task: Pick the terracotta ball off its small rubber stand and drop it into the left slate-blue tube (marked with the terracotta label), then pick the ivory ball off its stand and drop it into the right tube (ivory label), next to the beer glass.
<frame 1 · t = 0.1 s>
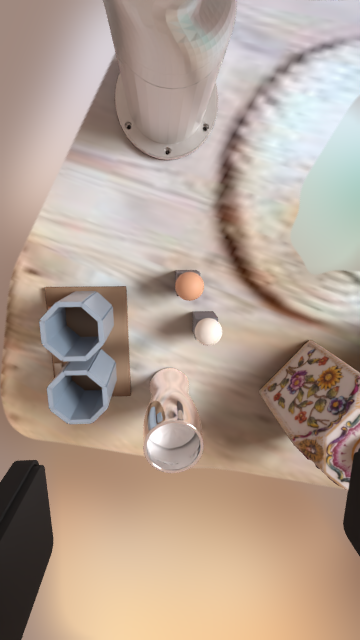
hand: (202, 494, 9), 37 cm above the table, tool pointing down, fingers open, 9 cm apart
stand A: (186, 280, 44), on the table
rack board: (90, 342, 46), on the table
tubes: (83, 354, 41), on the rack board, point 1 cm above the table
decorative jar: (306, 385, 50), on the table
stand B: (202, 321, 46), on the table
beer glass: (169, 385, 48), on the table
terracotta ball: (188, 284, 41), point 4 cm above the table, touching stand A
ivory ball: (206, 328, 42), point 4 cm above the table, touching stand B
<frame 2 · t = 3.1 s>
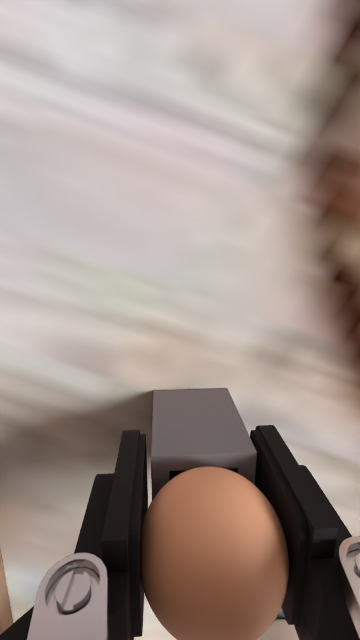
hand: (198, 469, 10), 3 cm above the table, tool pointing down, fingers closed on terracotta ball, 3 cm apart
stand A: (190, 422, 13), on the table
terracotta ball: (202, 490, 9), point 4 cm above the table, touching gripper, stand A
ivory ball: (269, 629, 11), point 4 cm above the table, touching stand B
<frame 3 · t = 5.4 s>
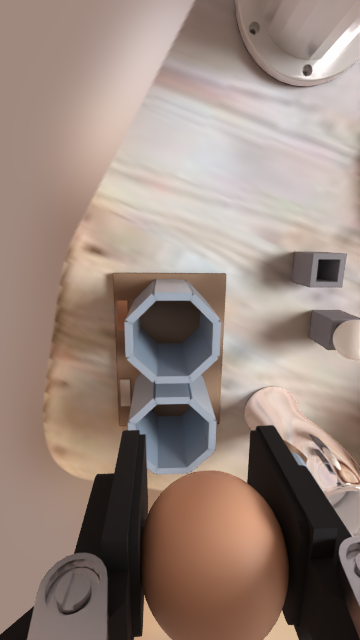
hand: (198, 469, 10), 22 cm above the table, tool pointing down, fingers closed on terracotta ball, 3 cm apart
stand A: (307, 267, 32), on the table
rack board: (169, 351, 33), on the table
tubes: (169, 351, 33), resting on rack board
stand B: (324, 323, 33), on the table
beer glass: (269, 409, 36), on the table
terracotta ball: (202, 494, 9), point 23 cm above the table, touching gripper
ivory ball: (343, 333, 30), point 4 cm above the table, touching stand B
when the fingers open (9 cm above the table, at t = 7.7 s): terracotta ball drops 9 cm, resting on rack board.
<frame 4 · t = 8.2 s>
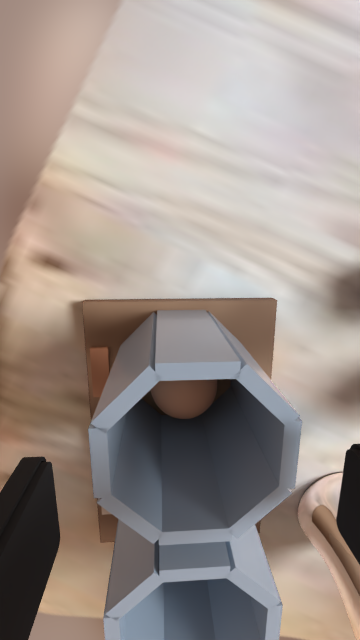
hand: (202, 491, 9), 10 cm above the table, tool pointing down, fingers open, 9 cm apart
rack board: (180, 424, 20), on the table
tubes: (180, 424, 20), resting on rack board
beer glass: (335, 504, 23), on the table
terracotta ball: (181, 370, 19), point 1 cm above the table, touching rack board
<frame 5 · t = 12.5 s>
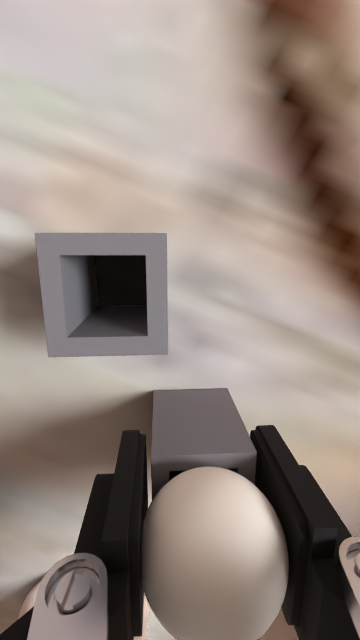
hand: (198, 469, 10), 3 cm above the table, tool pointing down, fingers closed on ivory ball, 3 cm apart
stand A: (123, 278, 11), on the table
stand B: (190, 422, 13), on the table
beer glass: (87, 608, 15), on the table
ivory ball: (202, 490, 9), point 4 cm above the table, touching gripper, stand B
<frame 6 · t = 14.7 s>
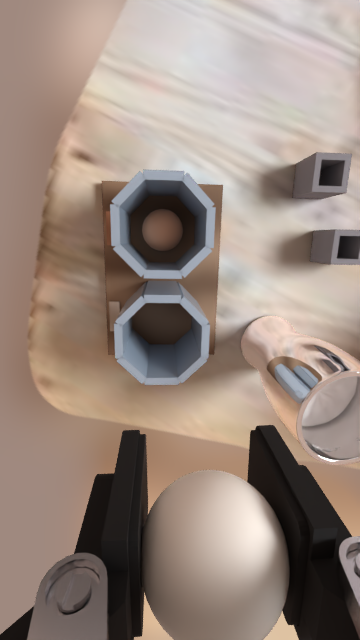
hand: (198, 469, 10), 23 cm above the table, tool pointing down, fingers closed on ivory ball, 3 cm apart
stand A: (309, 181, 30), on the table
rack board: (162, 273, 31), on the table
tubes: (162, 273, 31), resting on rack board
stand B: (326, 246, 31), on the table
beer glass: (267, 341, 34), on the table
terracotta ball: (162, 231, 29), point 1 cm above the table, touching rack board
ivory ball: (202, 493, 9), point 24 cm above the table, touching gripper
when the fingers open (9 cm above the table, at t = 17.1 s): ivory ball drops 9 cm, resting on rack board.
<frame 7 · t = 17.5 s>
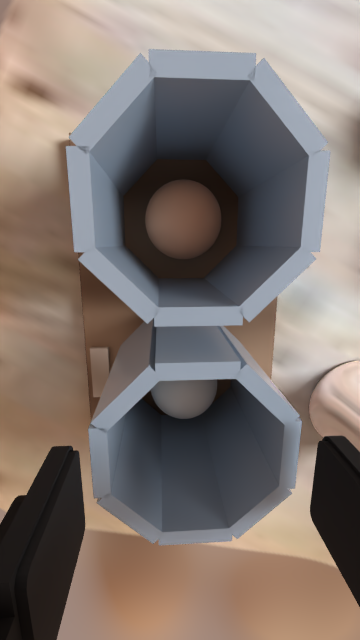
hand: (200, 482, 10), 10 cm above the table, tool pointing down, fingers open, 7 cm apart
rack board: (180, 297, 18), on the table
tubes: (180, 297, 18), resting on rack board
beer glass: (350, 401, 21), on the table
terracotta ball: (181, 223, 17), point 1 cm above the table, touching rack board
ivory ball: (181, 370, 19), point 1 cm above the table, touching rack board
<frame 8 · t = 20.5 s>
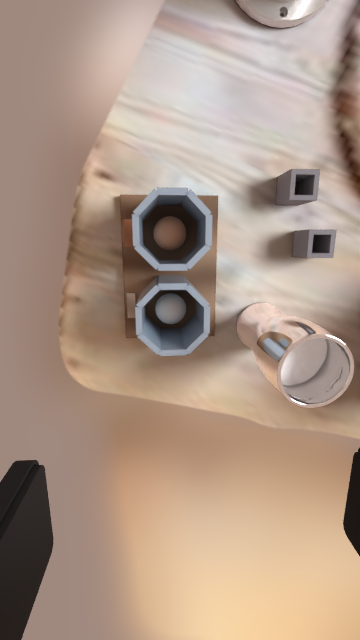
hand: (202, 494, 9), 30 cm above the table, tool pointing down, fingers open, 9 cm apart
stand A: (289, 191, 36), on the table
rack board: (169, 269, 38), on the table
tubes: (169, 269, 38), resting on rack board
stand B: (305, 243, 38), on the table
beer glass: (259, 325, 40), on the table
terracotta ball: (169, 234, 36), point 1 cm above the table, touching rack board
ivory ball: (170, 305, 38), point 1 cm above the table, touching rack board
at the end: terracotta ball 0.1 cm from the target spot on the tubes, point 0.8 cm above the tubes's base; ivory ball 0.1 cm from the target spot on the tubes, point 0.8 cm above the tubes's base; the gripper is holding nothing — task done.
